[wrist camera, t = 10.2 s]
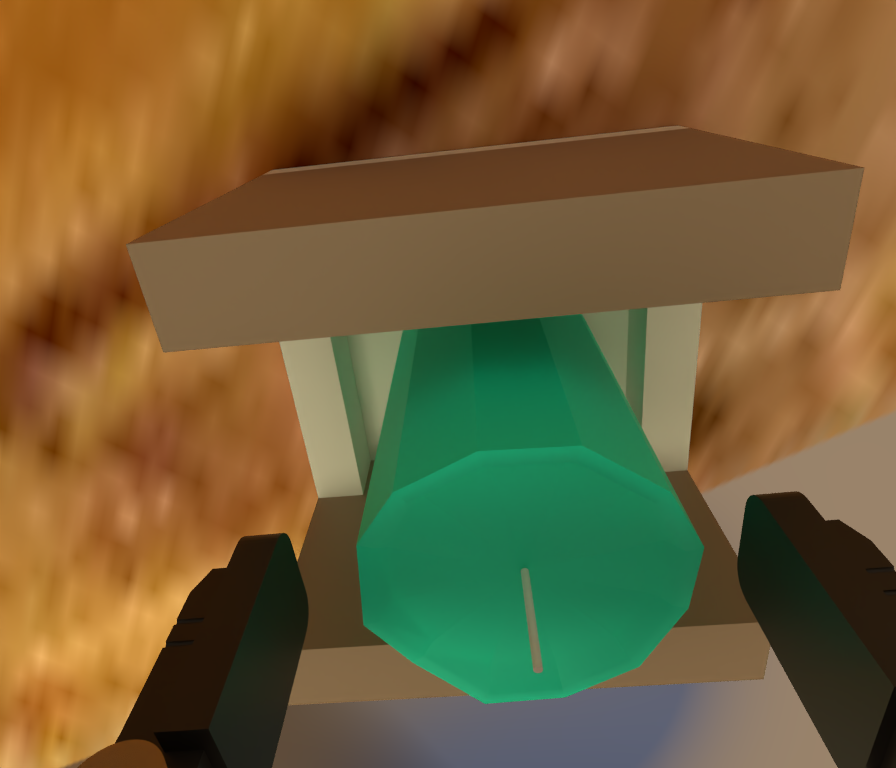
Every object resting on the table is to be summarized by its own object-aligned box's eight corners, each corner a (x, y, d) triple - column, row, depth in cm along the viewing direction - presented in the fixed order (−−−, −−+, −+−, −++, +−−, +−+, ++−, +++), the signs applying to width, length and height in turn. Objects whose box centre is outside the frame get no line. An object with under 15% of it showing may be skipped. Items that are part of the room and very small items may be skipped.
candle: (492, 213, 18) (545, 421, 7) (626, 341, 19) (831, 664, 9) (364, 350, 20) (253, 675, 9) (495, 455, 22) (533, 830, 11)
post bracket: (272, 170, 18) (125, 243, 10) (678, 125, 17) (864, 167, 9) (344, 491, 24) (286, 705, 16) (656, 467, 23) (763, 678, 15)
